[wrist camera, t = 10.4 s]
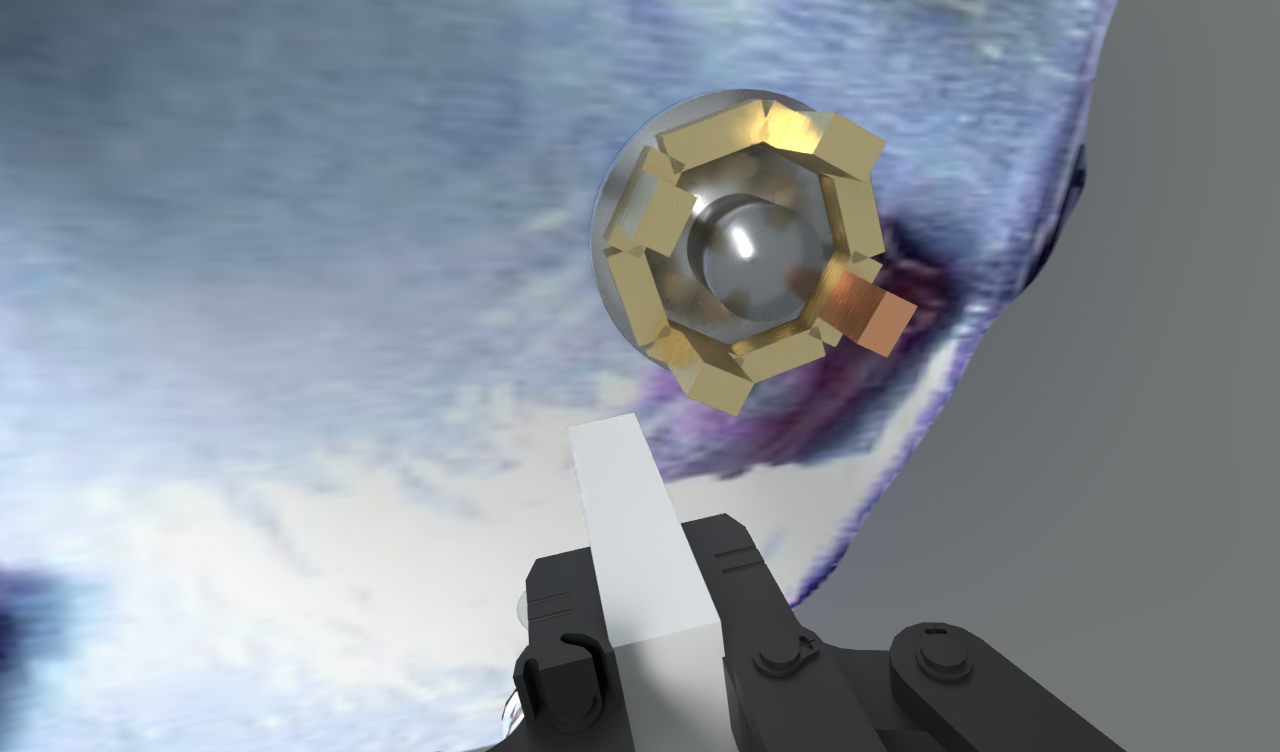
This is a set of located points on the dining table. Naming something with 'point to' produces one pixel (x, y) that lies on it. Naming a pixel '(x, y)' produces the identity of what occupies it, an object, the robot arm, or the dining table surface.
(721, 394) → the gold crown
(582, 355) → the dining table surface
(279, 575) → the dining table surface
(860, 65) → the dining table surface
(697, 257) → the silver round piece
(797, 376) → the dining table surface
